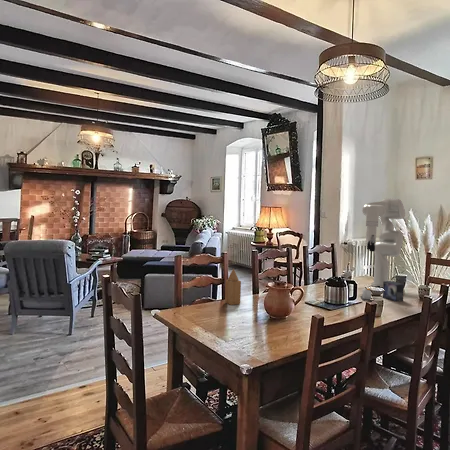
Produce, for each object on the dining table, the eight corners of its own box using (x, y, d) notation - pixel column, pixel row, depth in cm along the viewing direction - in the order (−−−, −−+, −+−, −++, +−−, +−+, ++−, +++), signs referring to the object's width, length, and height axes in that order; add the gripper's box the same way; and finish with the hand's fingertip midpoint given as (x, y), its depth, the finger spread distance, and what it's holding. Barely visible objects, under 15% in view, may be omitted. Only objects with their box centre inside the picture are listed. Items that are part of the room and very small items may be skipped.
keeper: (360, 297, 239) (360, 286, 239) (373, 298, 237) (374, 287, 237) (362, 300, 231) (362, 289, 231) (376, 301, 230) (376, 290, 229)
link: (362, 296, 238) (362, 288, 238) (372, 297, 237) (372, 289, 236) (363, 298, 232) (364, 290, 232) (374, 299, 231) (374, 291, 231)
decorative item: (234, 301, 221) (235, 267, 219) (240, 304, 215) (241, 268, 214) (224, 302, 217) (225, 267, 216) (231, 305, 212) (232, 269, 210)
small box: (381, 297, 240) (382, 281, 239) (389, 296, 242) (390, 280, 242) (395, 301, 230) (396, 284, 229) (403, 300, 233) (404, 283, 232)
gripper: (364, 223, 258) (362, 248, 259) (368, 224, 241) (366, 251, 242) (375, 223, 256) (374, 249, 257) (380, 225, 239) (379, 252, 240)
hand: (370, 250), depth 250 cm, fingers open, 9 cm apart
